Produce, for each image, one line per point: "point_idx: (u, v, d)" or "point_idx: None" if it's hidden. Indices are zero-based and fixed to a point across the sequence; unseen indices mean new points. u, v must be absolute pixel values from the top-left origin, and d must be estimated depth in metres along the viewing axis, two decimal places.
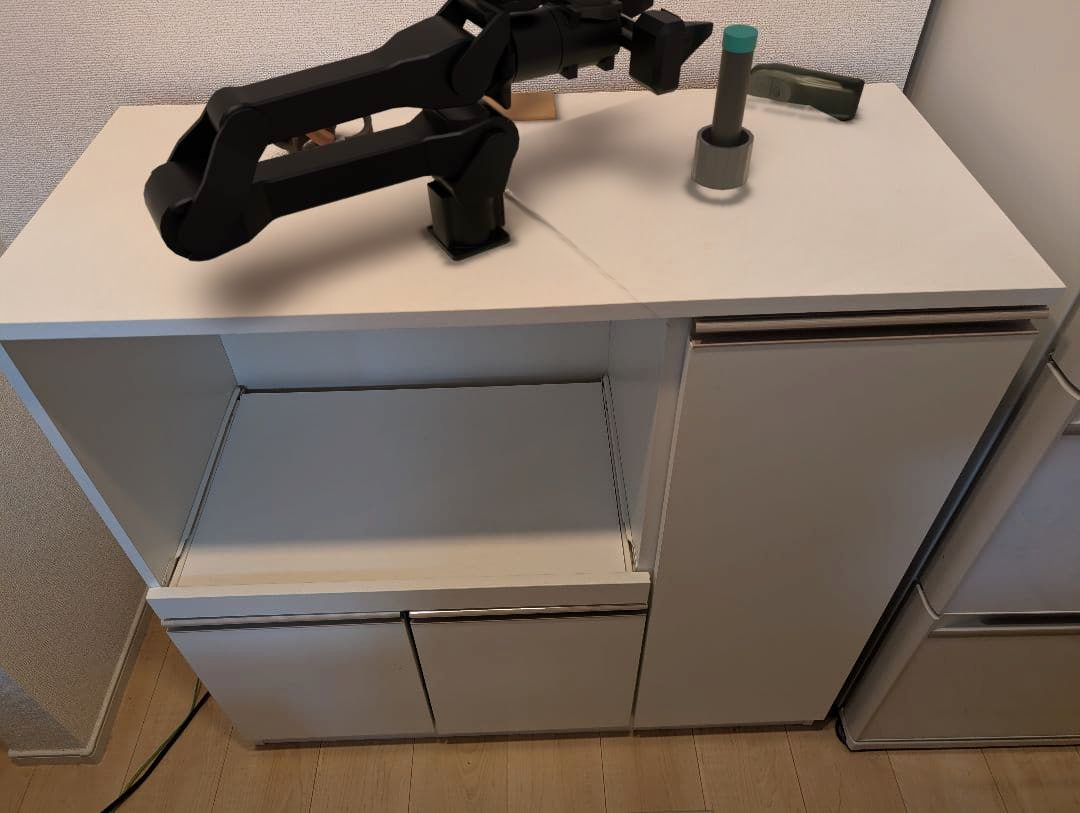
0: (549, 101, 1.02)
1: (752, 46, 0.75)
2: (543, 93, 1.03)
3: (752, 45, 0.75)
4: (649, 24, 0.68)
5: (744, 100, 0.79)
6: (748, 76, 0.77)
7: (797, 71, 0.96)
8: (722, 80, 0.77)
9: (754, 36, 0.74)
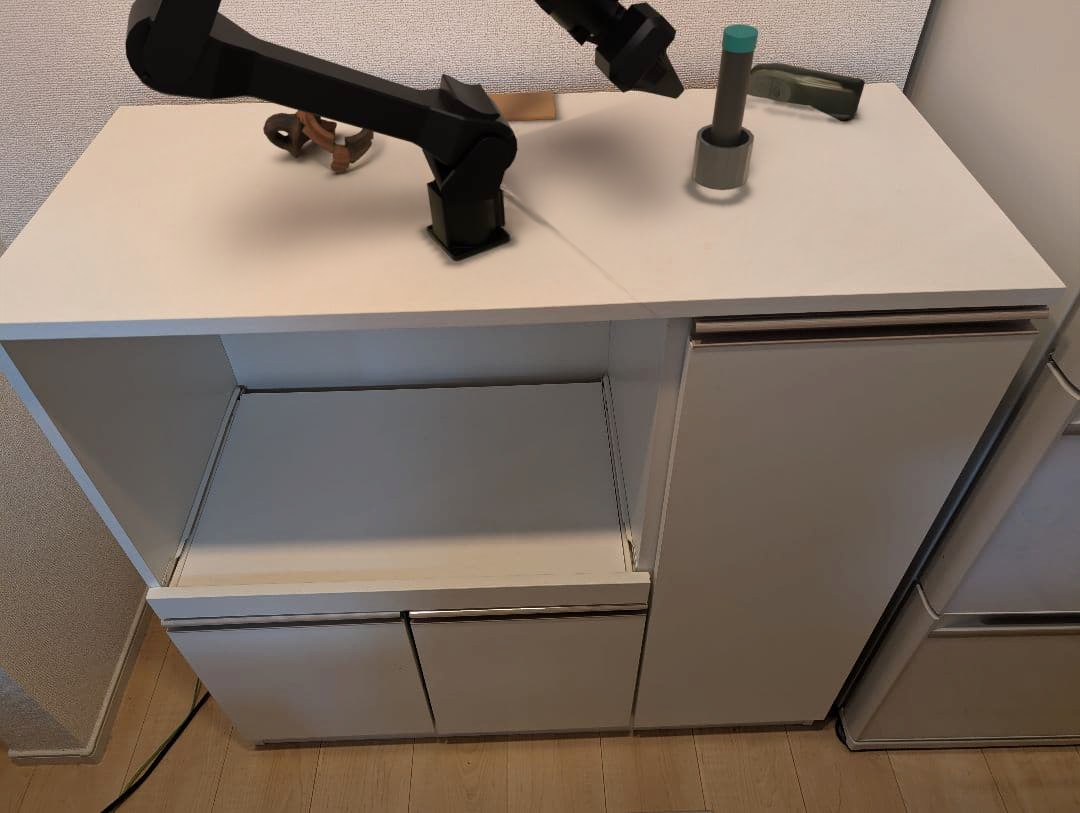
0: (549, 101, 1.02)
1: (752, 46, 0.75)
2: (543, 93, 1.03)
3: (752, 45, 0.75)
4: (646, 10, 0.63)
5: (744, 100, 0.79)
6: (748, 76, 0.77)
7: (797, 71, 0.96)
8: (722, 80, 0.77)
9: (754, 36, 0.74)
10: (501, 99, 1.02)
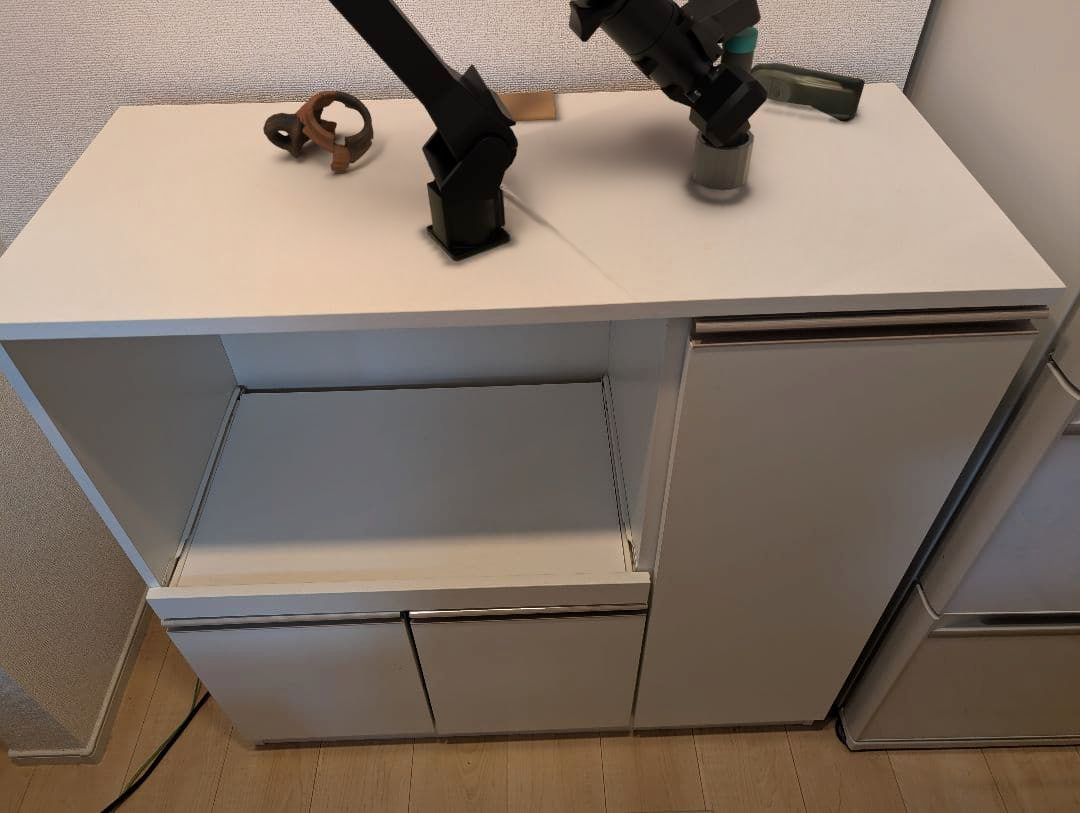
0: (549, 101, 1.02)
1: (752, 46, 0.75)
2: (543, 93, 1.03)
3: (752, 45, 0.75)
4: (741, 74, 0.70)
5: None
6: None
7: (797, 71, 0.96)
8: None
9: (754, 36, 0.74)
10: (501, 99, 1.02)
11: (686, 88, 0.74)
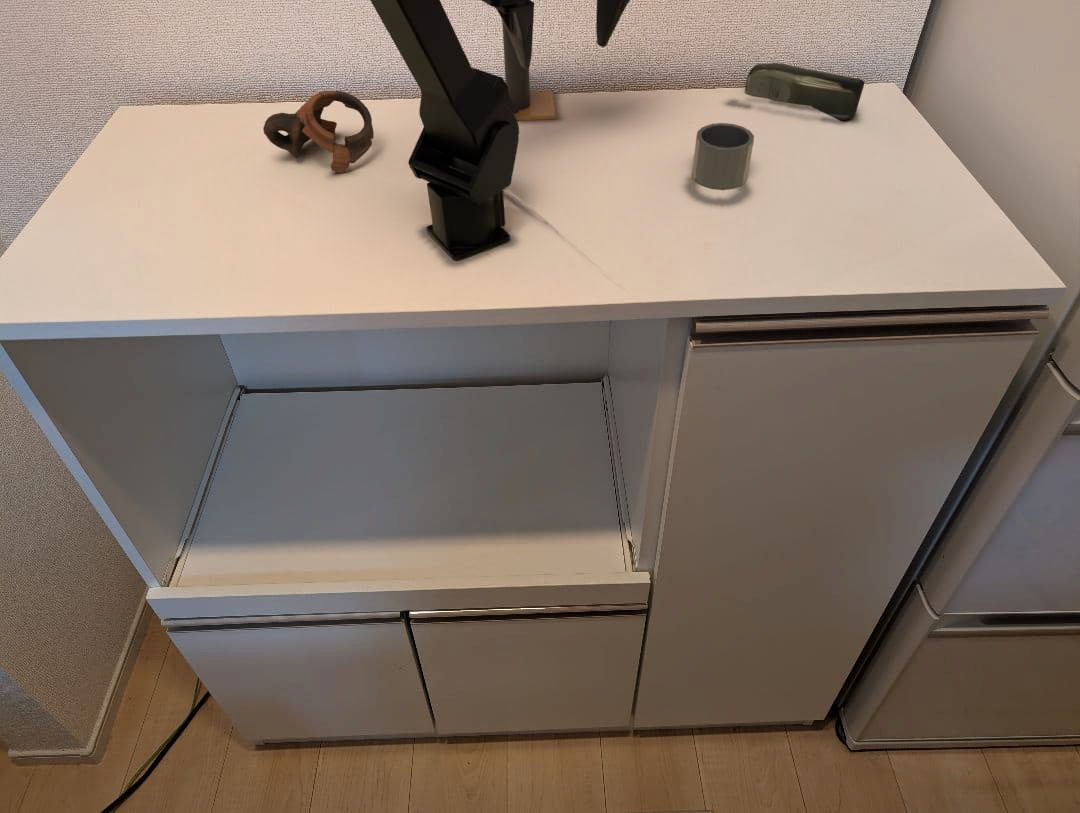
0: (549, 101, 1.02)
1: None
2: (543, 93, 1.03)
3: None
4: None
5: None
6: None
7: (797, 71, 0.95)
8: None
9: None
10: None
11: None
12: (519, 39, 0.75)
